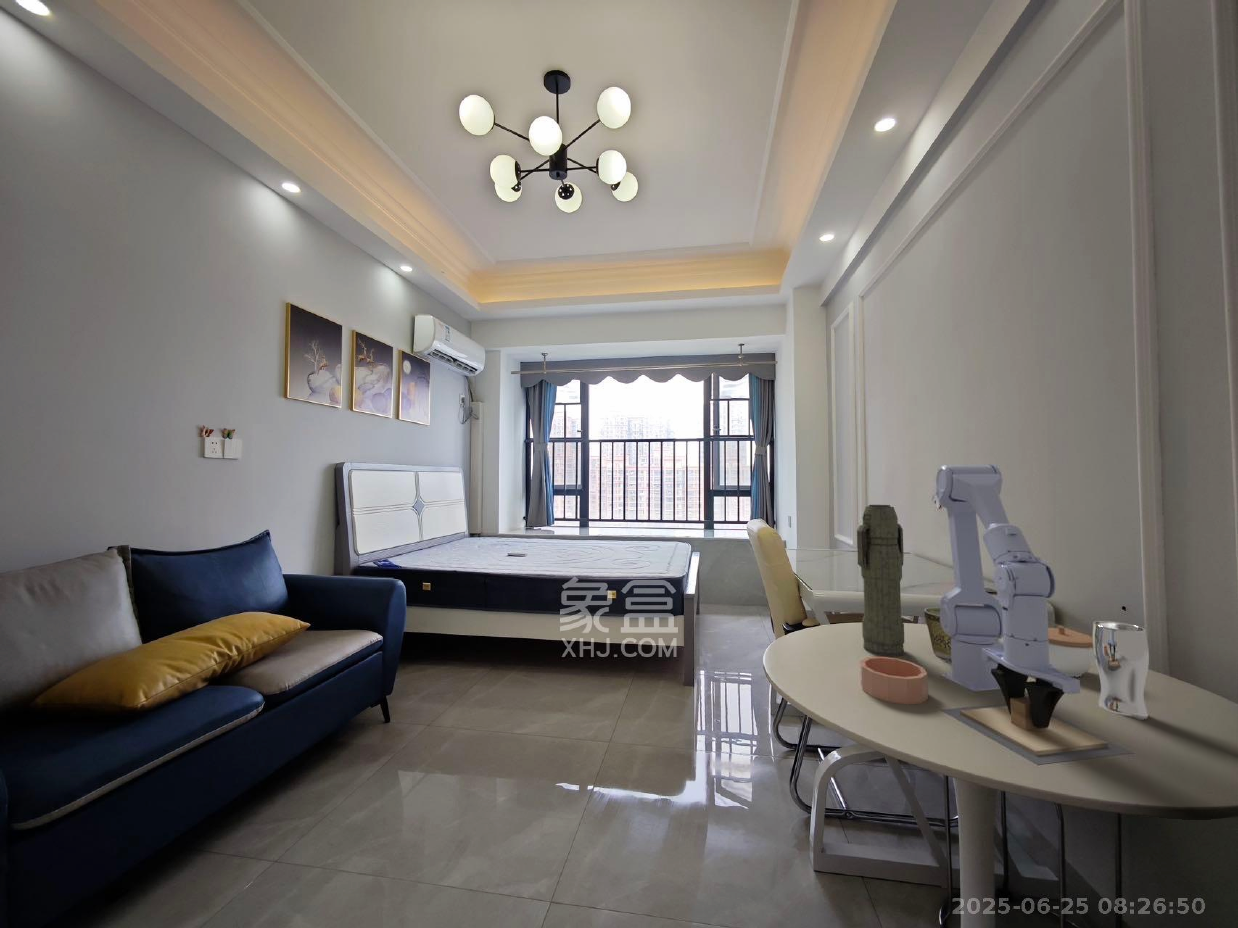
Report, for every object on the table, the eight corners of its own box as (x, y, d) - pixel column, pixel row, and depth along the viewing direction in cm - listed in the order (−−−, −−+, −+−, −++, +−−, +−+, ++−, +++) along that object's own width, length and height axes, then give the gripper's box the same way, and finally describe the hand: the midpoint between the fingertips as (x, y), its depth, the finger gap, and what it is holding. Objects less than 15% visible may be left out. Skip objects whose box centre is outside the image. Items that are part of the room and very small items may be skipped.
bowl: (897, 679, 100) (897, 655, 101) (941, 703, 90) (940, 675, 90) (849, 683, 99) (848, 658, 99) (887, 708, 88) (887, 680, 88)
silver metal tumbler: (1142, 725, 81) (1138, 633, 82) (1087, 708, 87) (1084, 623, 88) (1158, 715, 85) (1154, 627, 85) (1104, 699, 91) (1100, 618, 91)
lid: (1023, 707, 87) (1022, 681, 87) (1107, 746, 74) (1106, 715, 74) (959, 714, 85) (959, 687, 85) (1035, 755, 72) (1034, 723, 72)
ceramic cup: (958, 666, 108) (957, 620, 108) (915, 651, 117) (914, 609, 117) (994, 657, 113) (993, 613, 113) (950, 644, 122) (949, 603, 122)
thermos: (849, 646, 120) (846, 504, 122) (886, 641, 124) (882, 503, 126) (879, 659, 112) (875, 506, 113) (917, 652, 116) (913, 505, 117)
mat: (1022, 704, 89) (1022, 701, 89) (1134, 755, 72) (1134, 752, 72) (940, 712, 86) (940, 709, 86) (1037, 768, 69) (1037, 764, 69)
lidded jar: (1112, 682, 98) (1110, 635, 99) (1052, 679, 100) (1051, 633, 100) (1071, 663, 109) (1070, 620, 109) (1018, 660, 110) (1017, 618, 111)
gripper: (1095, 649, 73) (1099, 741, 73) (1004, 621, 88) (1007, 698, 87) (1056, 652, 72) (1060, 745, 72) (970, 624, 86) (973, 702, 86)
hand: (1028, 720), depth 79 cm, fingers open, 3 cm apart
